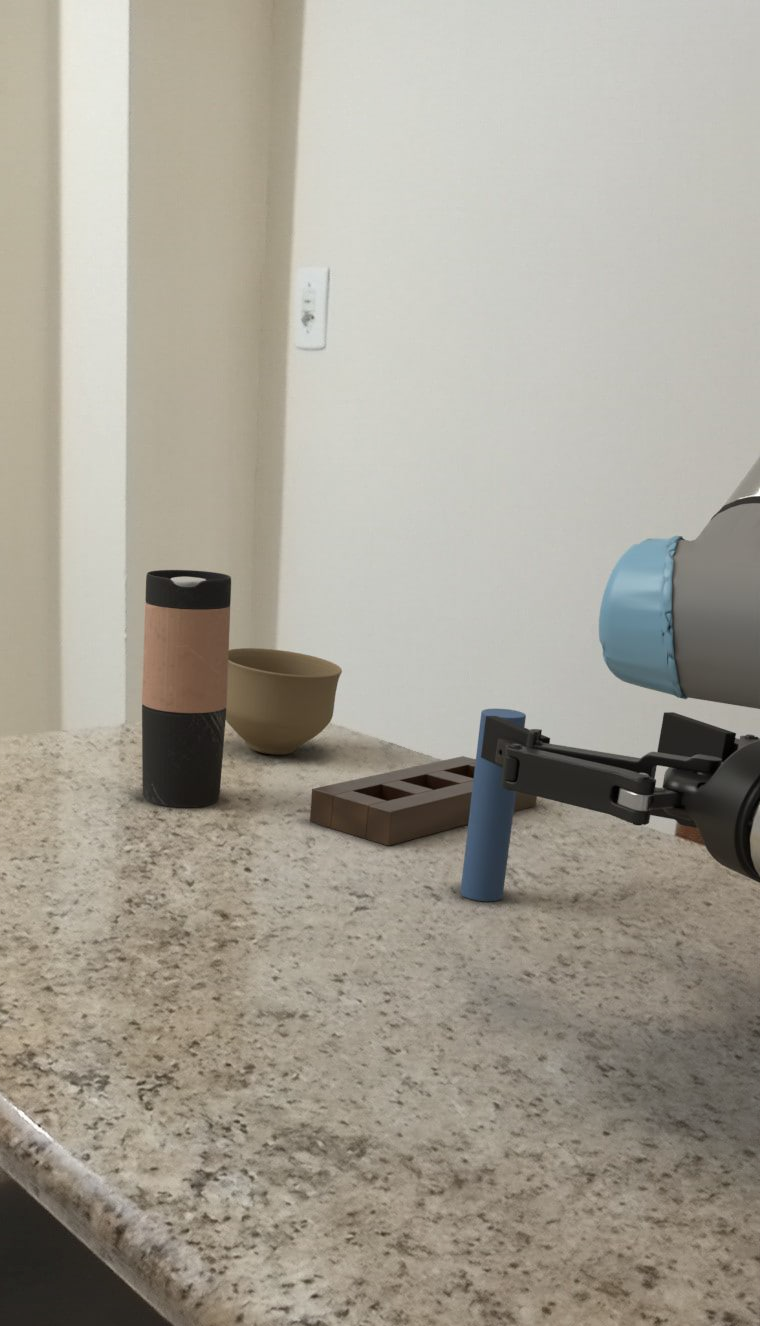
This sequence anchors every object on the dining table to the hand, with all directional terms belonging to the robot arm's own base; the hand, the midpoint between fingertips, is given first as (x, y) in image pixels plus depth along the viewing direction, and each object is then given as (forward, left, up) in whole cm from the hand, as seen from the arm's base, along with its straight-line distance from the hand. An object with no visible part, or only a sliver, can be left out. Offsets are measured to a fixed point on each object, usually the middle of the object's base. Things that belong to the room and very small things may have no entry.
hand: (578, 734), depth 91 cm
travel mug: (+43, -4, -15) cm, 45 cm away
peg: (+9, -4, -15) cm, 18 cm away
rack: (+26, -19, -15) cm, 35 cm away
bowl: (+51, -25, -15) cm, 59 cm away
